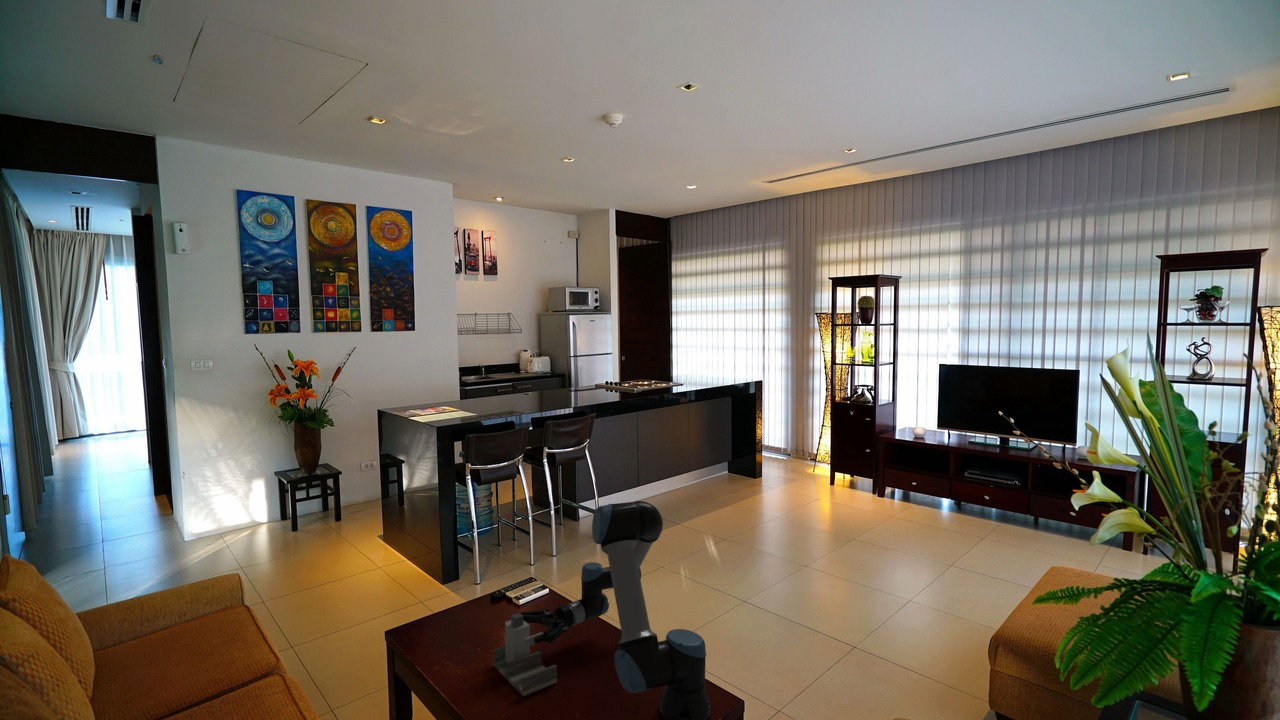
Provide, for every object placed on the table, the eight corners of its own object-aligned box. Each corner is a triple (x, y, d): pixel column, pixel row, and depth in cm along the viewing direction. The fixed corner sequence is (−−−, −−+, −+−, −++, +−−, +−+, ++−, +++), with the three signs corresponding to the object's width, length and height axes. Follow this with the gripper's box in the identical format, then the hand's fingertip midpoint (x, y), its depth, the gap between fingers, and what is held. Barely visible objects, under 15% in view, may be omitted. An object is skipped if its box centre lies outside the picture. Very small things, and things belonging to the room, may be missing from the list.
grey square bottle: (529, 663, 202) (529, 616, 201) (513, 669, 199) (513, 622, 198) (521, 655, 207) (521, 609, 206) (505, 661, 203) (504, 615, 202)
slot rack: (556, 682, 195) (556, 665, 194) (523, 696, 187) (523, 679, 187) (525, 653, 211) (525, 638, 211) (493, 665, 204) (493, 650, 203)
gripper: (589, 640, 206) (533, 661, 192) (550, 612, 225) (498, 630, 212) (589, 618, 205) (533, 639, 192) (550, 592, 225) (497, 609, 211)
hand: (514, 634), depth 202 cm, fingers open, 13 cm apart
